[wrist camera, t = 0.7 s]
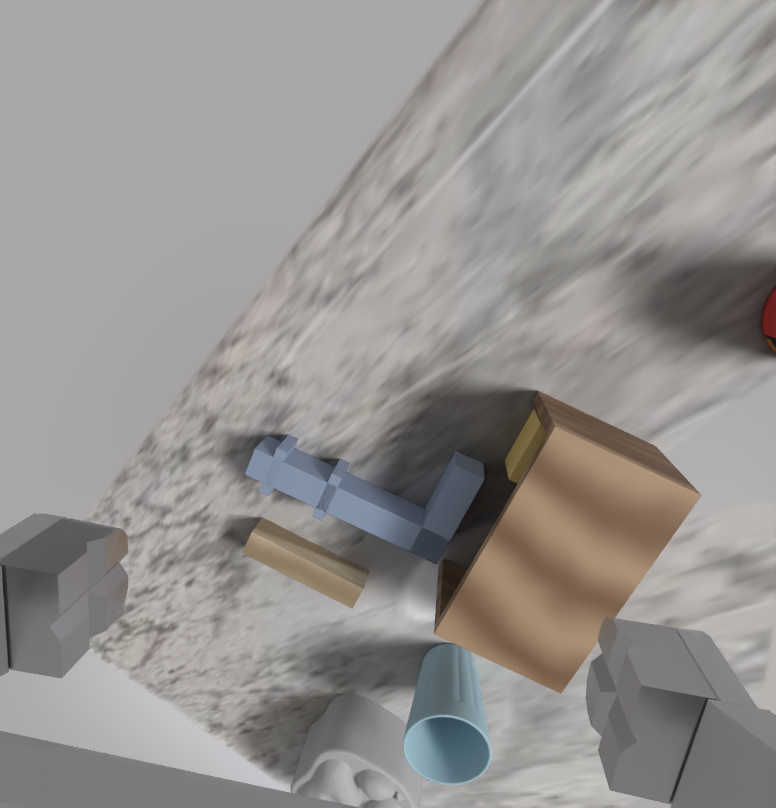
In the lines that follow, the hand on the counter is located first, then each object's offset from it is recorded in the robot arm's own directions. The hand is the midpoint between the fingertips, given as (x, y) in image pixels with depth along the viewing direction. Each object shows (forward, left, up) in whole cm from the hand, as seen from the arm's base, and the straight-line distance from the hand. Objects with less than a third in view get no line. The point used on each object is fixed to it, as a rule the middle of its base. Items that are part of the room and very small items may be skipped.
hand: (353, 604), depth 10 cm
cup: (+33, +17, -41) cm, 55 cm away
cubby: (+13, +16, -41) cm, 46 cm away
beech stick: (+28, -1, -42) cm, 50 cm away
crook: (+16, 0, -41) cm, 44 cm away
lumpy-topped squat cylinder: (+47, +14, -42) cm, 64 cm away
